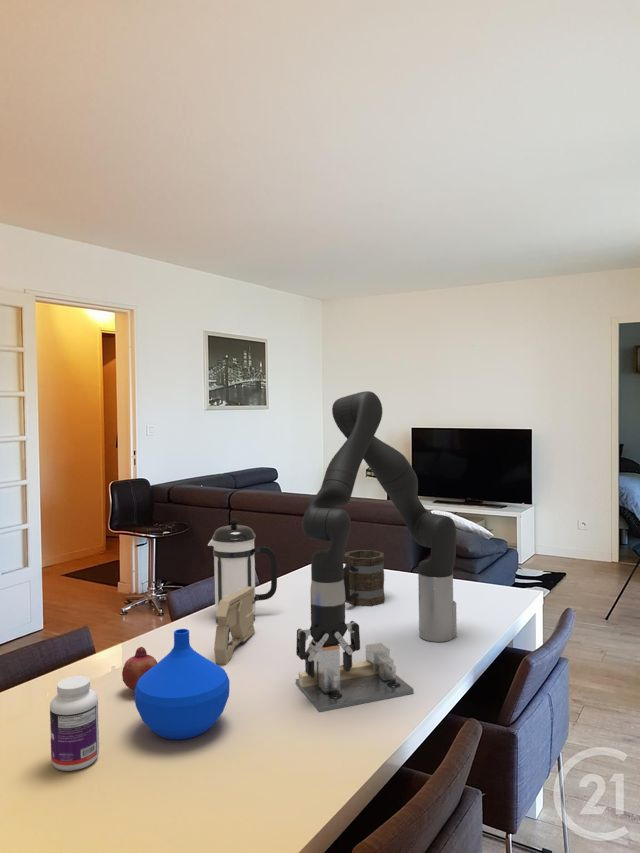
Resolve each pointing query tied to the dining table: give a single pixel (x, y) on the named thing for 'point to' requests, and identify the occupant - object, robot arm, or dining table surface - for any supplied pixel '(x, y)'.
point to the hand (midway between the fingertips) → (328, 673)
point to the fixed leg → (381, 661)
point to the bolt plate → (356, 692)
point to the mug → (364, 578)
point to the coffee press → (238, 562)
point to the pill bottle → (74, 724)
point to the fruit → (137, 667)
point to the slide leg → (328, 668)
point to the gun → (233, 623)
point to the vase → (182, 692)
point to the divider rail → (341, 673)
